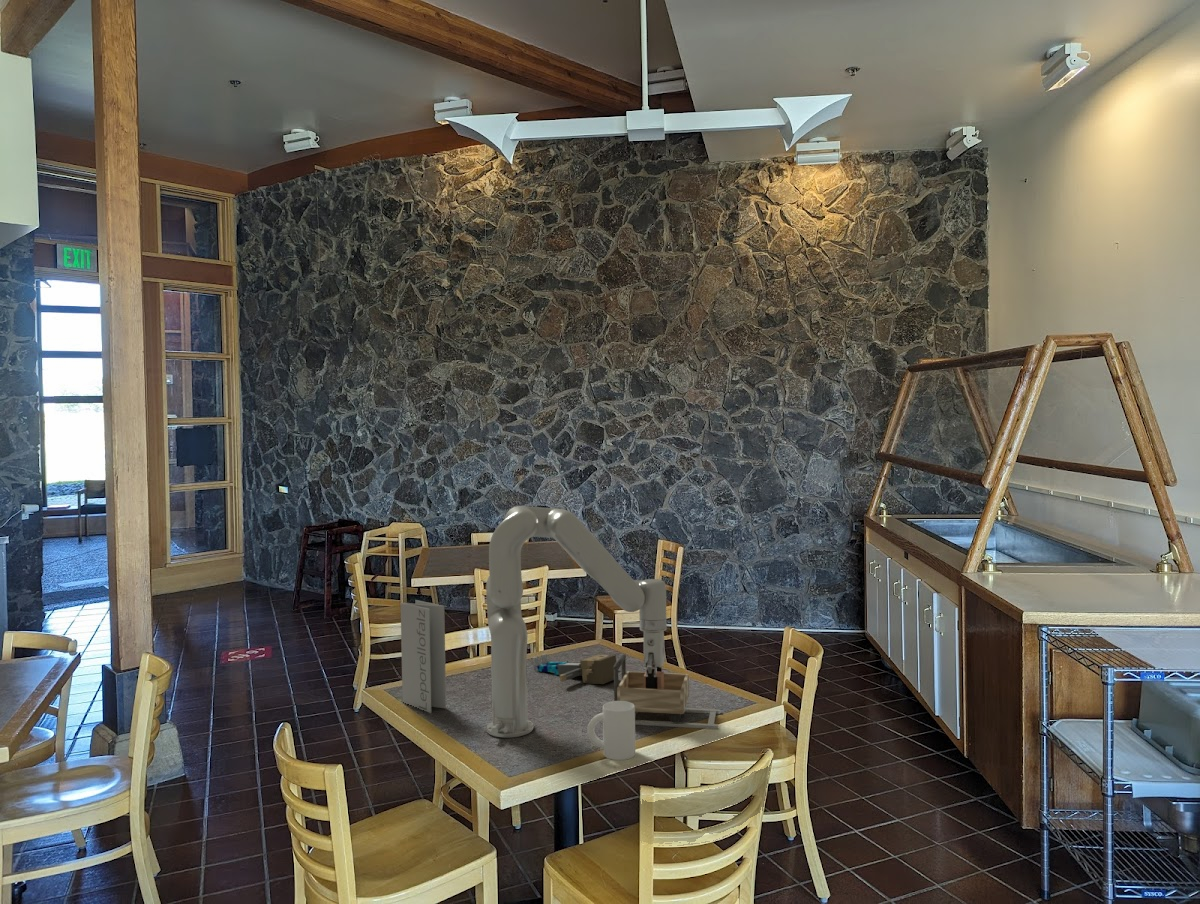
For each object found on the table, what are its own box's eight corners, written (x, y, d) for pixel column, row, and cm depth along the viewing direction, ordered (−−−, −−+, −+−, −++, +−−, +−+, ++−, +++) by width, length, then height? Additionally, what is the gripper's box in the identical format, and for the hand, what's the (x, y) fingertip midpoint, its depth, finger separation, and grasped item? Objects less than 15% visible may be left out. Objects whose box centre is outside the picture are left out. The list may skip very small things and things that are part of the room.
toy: (563, 647, 289) (631, 647, 271) (566, 669, 289) (634, 671, 270) (511, 664, 268) (581, 665, 250) (514, 688, 268) (585, 691, 250)
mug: (586, 748, 206) (586, 701, 206) (633, 746, 207) (633, 699, 207) (587, 761, 198) (587, 712, 198) (636, 759, 199) (636, 710, 198)
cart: (683, 724, 219) (682, 669, 219) (612, 721, 223) (611, 666, 222) (689, 705, 235) (688, 653, 234) (622, 702, 238) (621, 651, 238)
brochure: (402, 702, 244) (400, 602, 244) (418, 698, 248) (416, 599, 248) (430, 713, 235) (428, 609, 234) (446, 708, 239) (444, 606, 238)
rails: (717, 729, 218) (717, 726, 218) (622, 723, 224) (622, 720, 223) (720, 712, 231) (720, 709, 231) (629, 707, 237) (629, 704, 237)
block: (643, 701, 226) (643, 675, 226) (646, 695, 231) (646, 670, 231) (661, 702, 225) (661, 676, 225) (664, 696, 230) (663, 671, 230)
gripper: (662, 632, 219) (663, 696, 219) (669, 617, 236) (670, 677, 236) (634, 631, 220) (635, 695, 221) (644, 616, 237) (645, 676, 238)
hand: (653, 685), depth 228 cm, fingers open, 8 cm apart
